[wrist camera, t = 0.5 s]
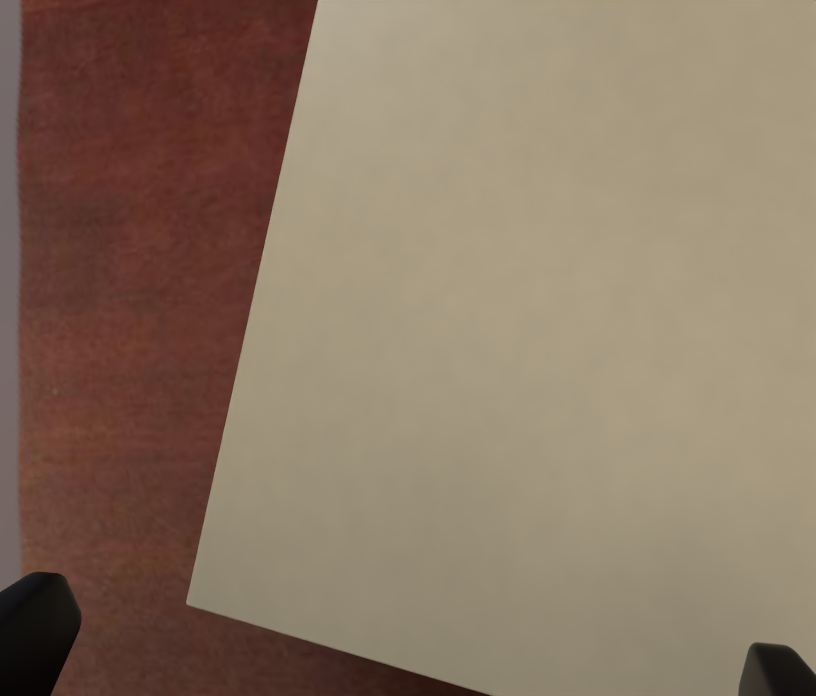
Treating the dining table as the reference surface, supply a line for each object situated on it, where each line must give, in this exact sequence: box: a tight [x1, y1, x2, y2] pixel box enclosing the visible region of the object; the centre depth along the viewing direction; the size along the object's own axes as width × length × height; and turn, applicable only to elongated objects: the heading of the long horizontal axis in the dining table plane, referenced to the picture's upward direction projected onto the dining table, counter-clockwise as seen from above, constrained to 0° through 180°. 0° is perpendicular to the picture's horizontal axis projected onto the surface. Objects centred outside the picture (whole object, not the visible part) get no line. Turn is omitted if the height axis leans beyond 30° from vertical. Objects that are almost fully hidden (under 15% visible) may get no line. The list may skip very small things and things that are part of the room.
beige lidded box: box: [186, 0, 816, 696], centre depth 17 cm, size 16×20×8 cm
